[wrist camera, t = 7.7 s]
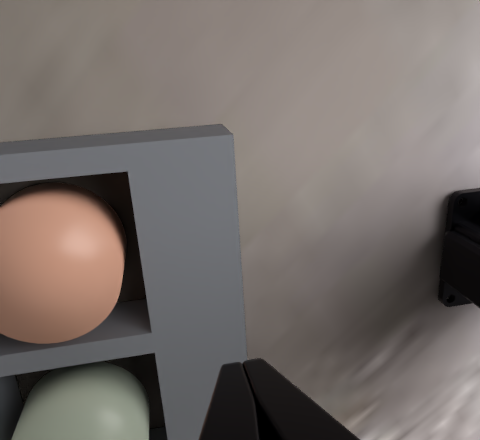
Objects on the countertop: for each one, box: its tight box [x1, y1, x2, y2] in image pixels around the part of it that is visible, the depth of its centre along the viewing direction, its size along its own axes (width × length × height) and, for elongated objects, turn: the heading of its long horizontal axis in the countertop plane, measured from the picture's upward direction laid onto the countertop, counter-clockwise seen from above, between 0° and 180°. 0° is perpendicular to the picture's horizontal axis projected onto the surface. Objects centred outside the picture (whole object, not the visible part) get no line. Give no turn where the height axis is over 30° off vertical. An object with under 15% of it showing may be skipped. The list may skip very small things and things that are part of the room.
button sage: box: [11, 361, 150, 440], centre depth 19 cm, size 6×6×3 cm
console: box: [0, 124, 247, 440], centre depth 21 cm, size 15×25×3 cm, turn 3°
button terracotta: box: [0, 182, 127, 344], centre depth 18 cm, size 6×6×3 cm
